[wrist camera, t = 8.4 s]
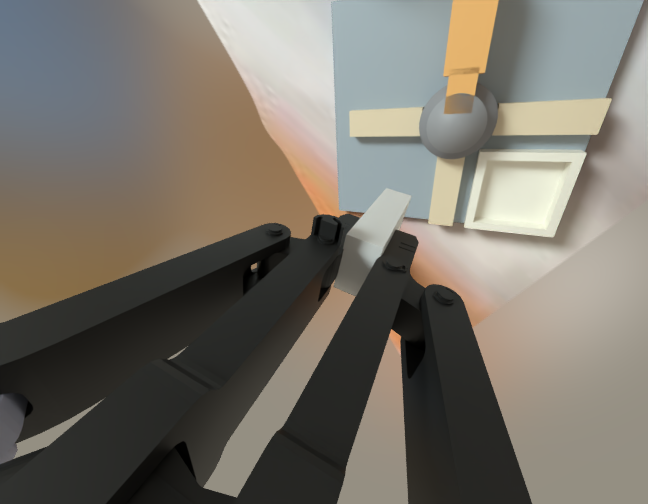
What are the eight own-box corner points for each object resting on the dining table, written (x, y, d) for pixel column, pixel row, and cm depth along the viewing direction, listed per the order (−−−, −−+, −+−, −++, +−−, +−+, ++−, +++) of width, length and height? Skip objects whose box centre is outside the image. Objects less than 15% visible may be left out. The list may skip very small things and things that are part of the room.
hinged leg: (479, 148, 24) (480, 153, 22) (426, 148, 26) (423, 153, 24) (519, -47, 18) (525, -63, 16) (447, -31, 20) (445, -43, 18)
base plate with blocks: (336, 5, 26) (320, -5, 23) (660, -64, 17) (698, -93, 14) (342, 206, 36) (331, 217, 33) (550, 226, 27) (559, 243, 24)
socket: (479, 148, 25) (479, 151, 24) (580, 149, 23) (586, 153, 21) (464, 222, 29) (464, 227, 28) (549, 230, 26) (553, 237, 25)
